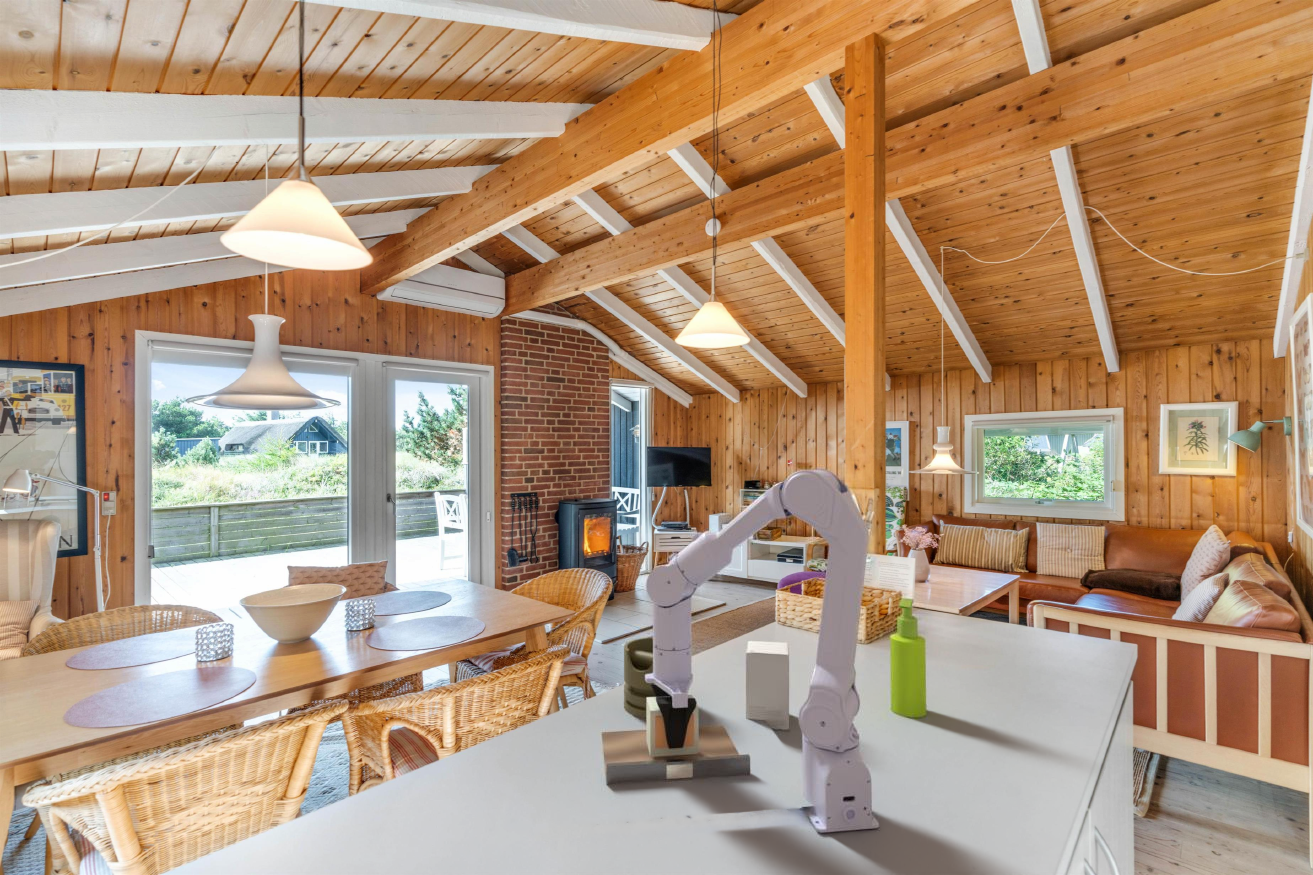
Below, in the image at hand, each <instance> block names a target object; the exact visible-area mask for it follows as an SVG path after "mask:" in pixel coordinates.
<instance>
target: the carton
mask: <svg viewBox="0 0 1313 875" xmlns="http://www.w3.org/2000/svg"><path fill="white" fill-rule="evenodd" d="M663 697H670V696H663ZM688 698H694V695H693V694H688ZM698 706H699V705H698V704H696V708H695V710H694V711H693V713H692V715H691V717H690V720H689V723H688V727H687V732H686V737H685V742H684V745H683V748H674V749H669V747H668V744H667V740H666V734H665V726H664V721H663V716H662V713H661V711H660V709H659V707H658V705H657V702H656V697H646V722H645V723H646V729H645V730H646V741H647V745H648V749H649V753H650V757H656V756H672V755H688V754H699V727H700V725H699V722H700V720H699V707H698Z"/></svg>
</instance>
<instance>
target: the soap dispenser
mask: <svg viewBox="0 0 1313 875" xmlns="http://www.w3.org/2000/svg"><path fill="white" fill-rule="evenodd" d="M913 604H914V598H905V597H902V598H901V599H900V601H899V605H898V608H900V609H901V610H902V611H901V612H902V613H901V614H900V615H899V616H897V621H896V622H897V623H896V624H897V625H896V626H897V627H896V628H897V631H896V633H891V635H890V639H889V642H890V643H889V644H890V648H889V649H890V650H889V651H890V652H889V654H890V657H889V659H890V661H889V662H890V710H891V711H892V712H893V713H894V714H896V715H898V716H901V717H905V718H912V719H913V718H917V719H918V718H923V717H925V716H926V715H927V679H926V677H927V676H926V675H927V674H926V672H927V671H926V669H927V667H926V663H927V662H926V638H925V637H923V636H921V635H919V634H918V633H919V631H918V630H919V628H918V625H919V624H918V618H917V617H915V616H914V615H913Z"/></svg>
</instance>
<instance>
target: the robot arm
mask: <svg viewBox="0 0 1313 875" xmlns="http://www.w3.org/2000/svg"><path fill="white" fill-rule="evenodd" d="M850 489H851V488H850V487H849V486H848V485H847V484H846V483H845V482H844V481H842V480H841V479H840V478H839V477H838V476H837V475H836V474H835V473H834V472H832V471H830V470H829V469H824V468H814V469H811V470H810V469H801V470H797V471H795V472H793V473H791V474H790V475H789V476H787V478H786V479H785V480H784V481H783V480H782V481H780V482H778V483H776V484H774V485H773V486H772V487H770V488H768V489H767V490H766V491H765V492H763V493H762V494H760V496H759V497H758V498H756V499H755V500H754V501H752V503H750V504H749V505H748V506H747V507H746V508H745V509H744V510H743V511H741V512H740V513H739V514H738V515H737V516H735V517H734V518H733V519H732V520H731V521H730V522H728V523H727V524H726V525H725V526H724V527H723V528H722V529H721V530H720V531H712V530H706V531H704V532H696V533H694V534H693V535H692V536H691V537H690V540H692V542H690V543H689V544H688V545H687V546H685V547H684V548H683V549H682V550H680V551H679V552H678V553H677V552H674V553H672V554H670V555H668V559H669V561H668V563H666V564H662V565H658V566H655V567H653V569H652V571H651V572H650V573H649V574H648V576H647V579H646V584H645V586H646V592H647V595H648V597H649V598H650V600H651V601H652V637H653V673H652V674H646V675H645V681H646V682H647V683H650V684H651V686H652V688H653V690H654V693H655V695H656V702H657V705H658V707H659V709H660V711H661V713H662V716H663V721H664V726H665V734H666V740H667V744H668V747H669V749H674V748H683V745H684V742H685V737H686V732H687V727H688V723H689V720H690V717H691V715H692V713H693V711H694V710H695V708H696V704H697V700H696V698H695V697H693V698H688V695H689V694H688V693H689V691H690V688H691V687H692V684H693V682H694V675H693V673H692V670H693V669H692V668H693V666H692V662H693V660H692V655H693V654H692V652H693V651H692V648H693V647H692V645H693V644H692V597H693V596H694V595H695V594H696V592H697V589H699V588H700V587H701V586H703V585H704V584H705V583H707V582H708V581H710V579H712V578H714V576H716V575H717V574H718V573H720V572H721V571H722V570H723V569H725V568H726V567H727V566H728V565H730V564H731V563H732V561H733V560H732V559H733V553H734V552H733V550H734V549H736V548H737V547H738V546H740V545H741V544H743V542H745V541H746V540H748V539H749V538H750V537H752V536H753V535H755V534H756V533H757V532H759V531H760V530H762V529H763V528H765V527H766V526H767V525H769V524H770V523H771V522H773V521H774V520H781V519H786V518H790V517H792V516H794V517H795V518H797V519H799V521H802V522H804V523H806V524H808V525H809V526H811V527H812V528H813V529H814V530H815V531H816V533H818V534H819V536H821V538H822V539H823V540H824V541H825V542H826V544H827V545H828V553H827V561H826V570H825V578H824V588H823V597H822V606H821V614H820V623H819V633H818V638H817V639H818V641H817V650H816V657H815V658H816V659H815V664H814V665H815V666H814V668H813V673H812V676H811V679H810V684H809V687H808V688H809V690H808V694H807V697H806V699H805V701H804V702H803V703H802V705H801V707H800V709H799V712H798V725H799V728H800V730H801V734H802V740H801V742H802V745H801V746H802V795H803V797H804V799H805V800H806V801H807V802H808V803H809V804H810V805H808V806H801V808H802V810H803V811H804V813H805V815H806V817H807V818H808V820H809V821H810V823H811V824H812V826H813V827H814V828H815V830H816V832H818V833H821V834H822V833H834V832H846V831H857V830H859V831H860V830H868V829H871V830H872V829H878V828H879V827H880V823H879V821H878V820H877V819H876V818H875V817H874V815H873V809H872V808H873V802H872V798H873V797H872V796H873V793H872V790H873V789H872V784H873V783H872V776H871V773H870V771H869V769H868V767H867V766H866V764H865V762H864V761H863V759H862V756H861V752H860V751H861V750H860V734H859V733H858V730H857V728H856V726H855V723H854V720H855V718H856V716H857V714H858V713H859V710H860V708H861V698H860V694H859V693H858V689H857V687H856V686H857V685H856V679H857V678H856V676H857V672H856V668H855V667H856V666H855V663H856V662H855V661H856V654H857V646H858V635H859V629H860V628H859V626H860V617H861V610H862V601H863V592H864V585H865V584H864V583H865V577H866V576H865V575H866V574H865V573H866V566H867V565H866V564H867V559H868V558H867V557H868V549H869V540H870V535H869V534H870V533H869V529H868V526H867V525H866V522H865V520H864V518H863V517H862V515H861V513H860V510H859V508H858V506H857V505H856V503H855V501H854V498H853V496H852V493H851V490H850ZM663 696H670V697H663ZM697 705H698V704H697Z"/></svg>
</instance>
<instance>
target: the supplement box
mask: <svg viewBox="0 0 1313 875" xmlns="http://www.w3.org/2000/svg"><path fill="white" fill-rule="evenodd" d="M746 644H747V645H746V652H745V719H748V720H761V721H765V722H766V723H767V725H768V726H769V727H770V729H771V728H773V729H772V730H779V729H783V730H782V731H788V730H789V729H790V652H789V651H790V650H789V643H788V642H782V641H781V642H779V641H760V640H759V641H758V640H757V641H756V640H755V641H754V640H748V641H747V643H746Z"/></svg>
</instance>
